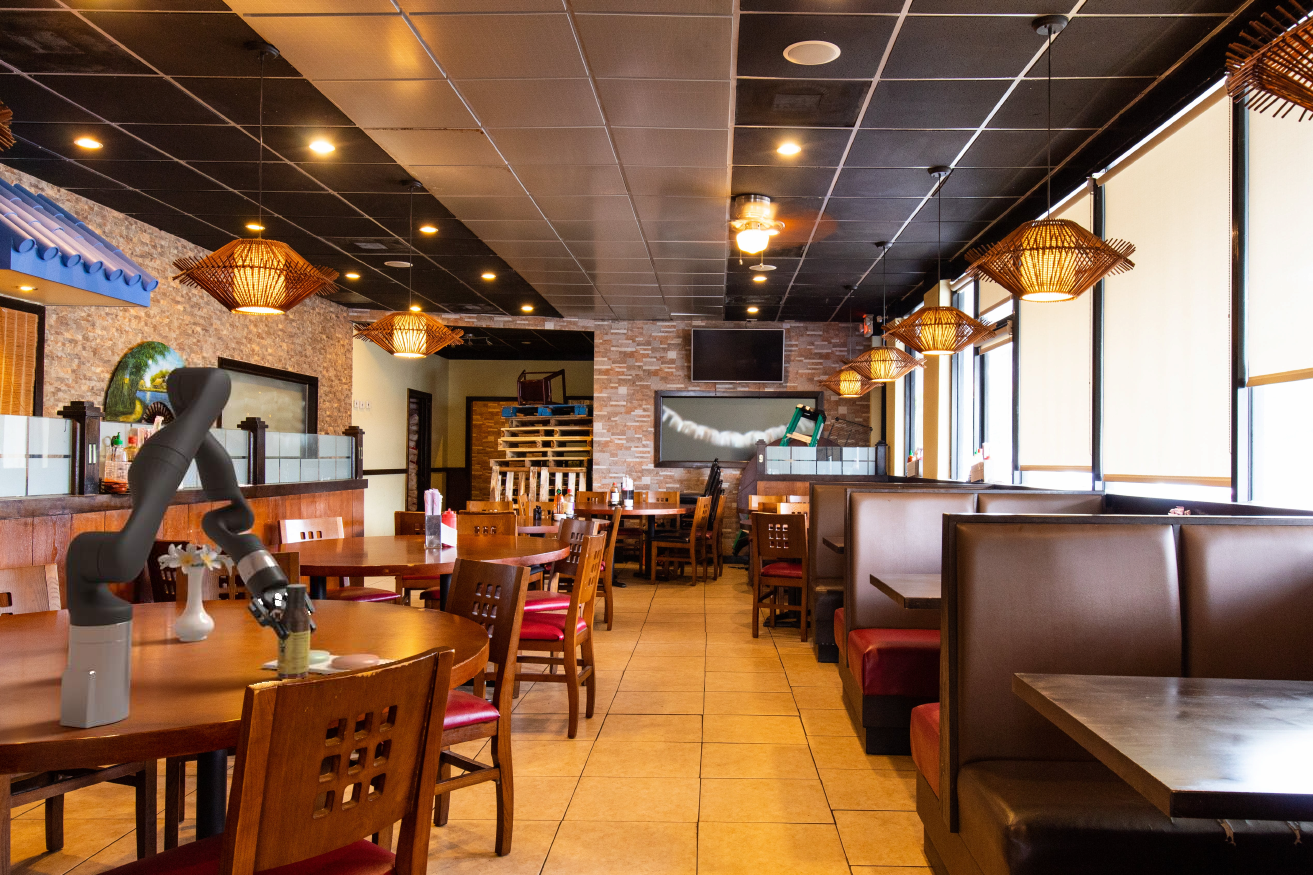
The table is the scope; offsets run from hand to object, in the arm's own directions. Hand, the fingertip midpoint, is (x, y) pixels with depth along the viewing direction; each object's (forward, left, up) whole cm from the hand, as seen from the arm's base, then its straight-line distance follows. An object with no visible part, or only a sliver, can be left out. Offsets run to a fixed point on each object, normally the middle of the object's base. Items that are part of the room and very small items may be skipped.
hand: (299, 634), depth 172 cm
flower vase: (+26, +53, -10) cm, 60 cm away
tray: (+11, +1, -9) cm, 15 cm away
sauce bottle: (0, +2, -10) cm, 10 cm away
